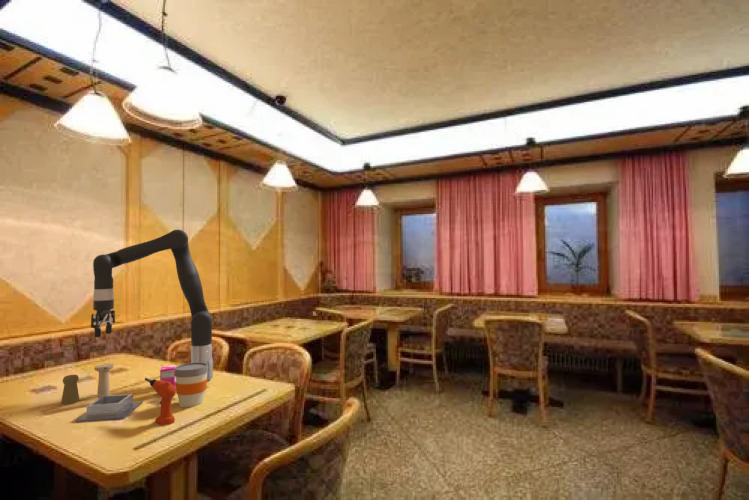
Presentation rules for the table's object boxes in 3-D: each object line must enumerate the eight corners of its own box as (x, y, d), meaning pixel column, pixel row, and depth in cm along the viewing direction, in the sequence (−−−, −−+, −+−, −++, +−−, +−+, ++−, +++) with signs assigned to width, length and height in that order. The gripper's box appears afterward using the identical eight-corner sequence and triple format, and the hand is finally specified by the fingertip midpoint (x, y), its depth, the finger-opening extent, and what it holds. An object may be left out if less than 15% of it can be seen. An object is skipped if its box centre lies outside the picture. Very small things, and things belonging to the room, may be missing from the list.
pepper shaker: (83, 400, 159) (83, 373, 160) (67, 405, 153) (67, 377, 154) (73, 398, 161) (73, 372, 162) (57, 403, 155) (57, 376, 156)
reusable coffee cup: (173, 411, 146) (174, 372, 146) (174, 401, 157) (174, 364, 157) (209, 405, 151) (209, 367, 152) (207, 395, 162) (207, 360, 163)
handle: (114, 401, 157) (114, 364, 158) (95, 405, 153) (96, 368, 153) (111, 398, 161) (111, 363, 161) (92, 402, 156) (93, 366, 156)
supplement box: (161, 392, 168) (161, 366, 168) (176, 390, 170) (176, 364, 171) (159, 396, 163) (160, 369, 163) (175, 394, 165) (175, 367, 165)
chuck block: (142, 403, 155) (142, 391, 155) (123, 418, 139) (123, 405, 139) (99, 406, 152) (99, 394, 152) (75, 422, 136) (75, 409, 136)
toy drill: (149, 407, 146) (152, 369, 145) (177, 423, 136) (181, 383, 136) (136, 412, 141) (139, 372, 141) (164, 429, 132) (167, 386, 131)
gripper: (103, 300, 162) (103, 338, 162) (121, 297, 176) (121, 332, 176) (84, 300, 161) (84, 338, 161) (103, 297, 175) (103, 332, 175)
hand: (103, 335), depth 168 cm, fingers open, 8 cm apart
